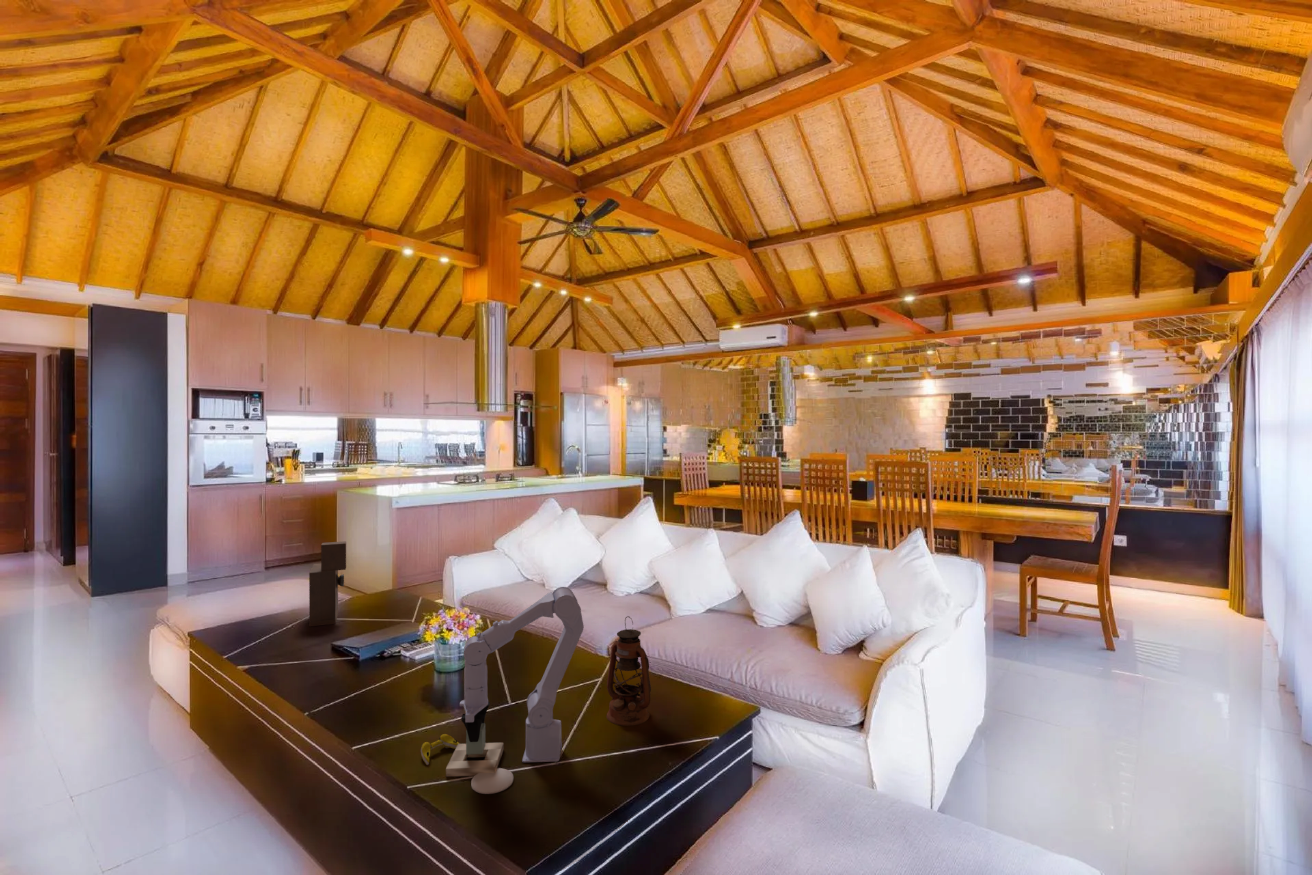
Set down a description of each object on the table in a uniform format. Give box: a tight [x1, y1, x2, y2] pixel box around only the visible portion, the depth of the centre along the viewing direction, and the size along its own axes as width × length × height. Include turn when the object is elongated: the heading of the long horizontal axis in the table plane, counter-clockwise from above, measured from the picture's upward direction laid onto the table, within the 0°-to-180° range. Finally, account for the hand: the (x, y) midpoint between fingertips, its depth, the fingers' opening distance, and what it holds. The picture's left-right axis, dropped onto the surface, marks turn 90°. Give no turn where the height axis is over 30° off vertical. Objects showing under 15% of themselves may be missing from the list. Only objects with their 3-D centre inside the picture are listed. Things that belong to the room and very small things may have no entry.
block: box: [465, 722, 486, 755], centre depth 160 cm, size 4×4×6 cm
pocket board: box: [445, 742, 504, 777], centre depth 160 cm, size 12×12×2 cm
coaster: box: [470, 767, 514, 795], centre depth 151 cm, size 10×10×1 cm
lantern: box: [606, 615, 652, 727], centre depth 186 cm, size 17×13×30 cm
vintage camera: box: [308, 541, 347, 627], centre depth 279 cm, size 19×14×35 cm
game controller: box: [420, 733, 460, 766], centre depth 164 cm, size 10×6×4 cm, turn 143°
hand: (476, 736), depth 160 cm, fingers closed on block, 4 cm apart
